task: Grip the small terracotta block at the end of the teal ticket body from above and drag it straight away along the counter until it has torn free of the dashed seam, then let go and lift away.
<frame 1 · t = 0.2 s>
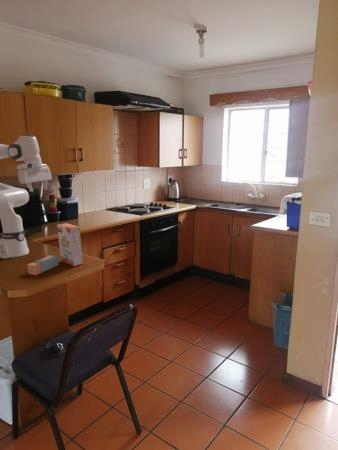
hand: (38, 190, 191), 39 cm above the countertop, tool pointing down, fingers open, 8 cm apart
cracker box: (71, 263, 189), on the countertop
ticket body: (47, 268, 182), on the countertop
block: (34, 268, 174), point 3 cm above the countertop, slide at 0.0 cm
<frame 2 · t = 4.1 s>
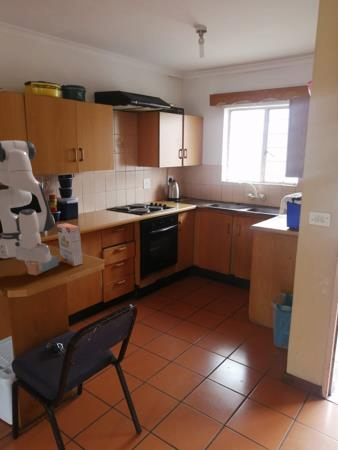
hand: (34, 269, 174), 2 cm above the countertop, tool pointing down, fingers closed on block, 5 cm apart
block: (34, 268, 174), point 3 cm above the countertop, slide at 0.0 cm, touching gripper
everything else where it was.
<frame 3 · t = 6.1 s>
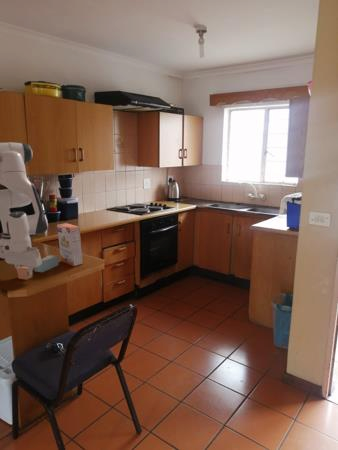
hand: (25, 273, 168), 2 cm above the countertop, tool pointing down, fingers closed on block, 5 cm apart
block: (24, 272, 168), point 3 cm above the countertop, slide at 6.3 cm, touching gripper
everything else where it was.
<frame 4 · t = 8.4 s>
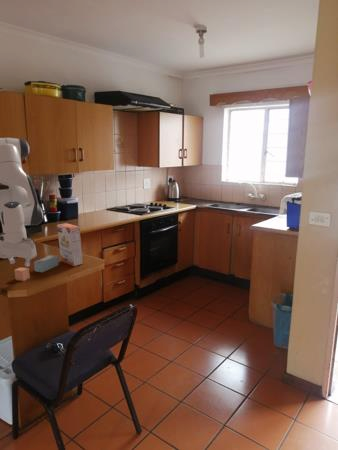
hand: (19, 264, 166), 7 cm above the countertop, tool pointing down, fingers open, 8 cm apart
block: (22, 273, 167), point 3 cm above the countertop, slide at 8.0 cm
everything else where it was.
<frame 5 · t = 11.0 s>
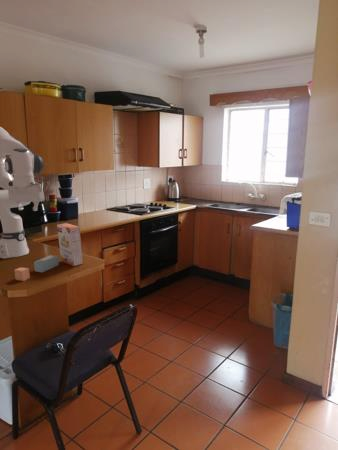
hand: (28, 210, 173), 31 cm above the countertop, tool pointing down, fingers open, 8 cm apart
nothing on the countertop moved.
at the end: block slide at 8.0 cm; the gripper is holding nothing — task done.
